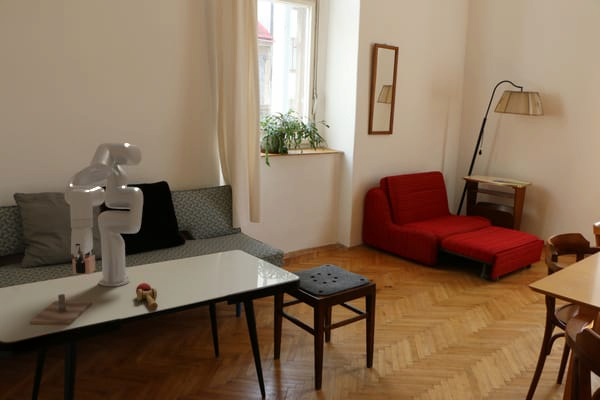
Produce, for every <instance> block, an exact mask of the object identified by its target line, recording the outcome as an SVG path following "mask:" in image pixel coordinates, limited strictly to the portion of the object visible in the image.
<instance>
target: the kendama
mask: <svg viewBox="0 0 600 400" xmlns="http://www.w3.org/2000/svg"><path fill="white" fill-rule="evenodd" d="M135 293H136V299H137V301H142V300H143V299H146V302H147V303H148V306H149V308H150V310H151V311H153V310H154V311H155V310H157V309H158V307H159V305H158V303H157V302H156V300H157V297H158V291H157V288H156V287H152V286H151V285H150V284H149V283H146V282H142V283H140V284H139V285H137V286H136V288H135Z"/></svg>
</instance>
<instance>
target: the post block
mask: <svg viewBox="0 0 600 400" xmlns="http://www.w3.org/2000/svg"><path fill="white" fill-rule="evenodd" d="M57 296H58V297H57V298H58V300H55V301H53V302H52V303H51V304H49V305H48V306H46V308H44V309H43V310H42V311H40V312H39V313H38V314H36V315H35V316H34V317H33V318H32V319H30V320H29V324H30V325H31V324H32V325H68V326H70V325H71V324H73V323H74V322H75V320H76V319H78V318H79V317H80V316H81V315H83V313H84V312H85V311H86V310H87V309H89V307H90V306H92V304H93V302H92V300H89V301H86V300H85V301H84V300H83V301H82V300H80V301H79V300H66V294H63V293H61V294H58V295H57Z"/></svg>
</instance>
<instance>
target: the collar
mask: <svg viewBox="0 0 600 400" xmlns="http://www.w3.org/2000/svg"><path fill="white" fill-rule="evenodd" d="M79 257H81V259H82V256H79ZM84 263H85V273H84V274H83V275H91V274H92V273H93V272H94V271H95V270H96V255H95V254H92V255H85V257H84ZM72 274H73V275H82V274H81V273H76V263H75V258H74V257H73V258H72Z"/></svg>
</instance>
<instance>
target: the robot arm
mask: <svg viewBox="0 0 600 400" xmlns="http://www.w3.org/2000/svg"><path fill="white" fill-rule="evenodd" d="M142 157H143V155H142V151H141V148H140V147H139V146H137V145H134V144H130V143H126V142H103V143H101V144H98V146H97V148H96V149H95V153H94V155H93V157H92V159H91V161H90V164H89V165H88V166H86V167H84V168H82V169H81V170H79V171H77V172H76V173H75V174H73V175H72V176H71V177H70V180H69V181H68V183H67V186H66V188H65V191H64V201H65V202H66V203H67V204H68V205H69V207H70V209H69V210H70V211H69V212H70V228H71V233H70V234H71V238H70V242H71V243H70V252H71V255H72V256H73V259H74V258H75V263H76V273H81V274H80V275H85V274H84V273H85V263H84V257H85V255H93V253H92V250H93V248H94V237H93V236H94V235H93V227H94V212H93V209H94V208H93V207H99V206H101V205H103V204H105V206H106V207H107V208H109V209H119V210H105V211H103V212H101V213H100V214H99V215H98V218H97V225H98V229H99V234H100V243H101V267H102V278H100V279H99V280H98V283H99V285H100V286H102V287H103V286H104V287H120V286H124V285H126V284H128V283H129V282H130V280H131V279H130V277H129V276H128V275H126V273H127V272H126V271H127V269H126V249H125V248H126V243H125V240H124V238H123V237H122V235H121V234H137V233H138V232H139V231H140V229H141V225H142V218H143V206H144V194H143V191H142V190H141V188H139V187H137V186H136V187H135V186H128V180H129V179H128V175H127V173H126V172H125V170H124V169H123V168H122V167H121V166H138V165H139V164H140V163H141V161H142V159H143V158H142ZM105 180H106V186H105V189H104V188H103V187H101V186H98V185H91V184H95V183H98V182H102V181H105ZM120 209H122V210H120ZM123 209H124V210H123ZM125 209H128V210H129V211H128V210H125ZM79 256H82V259H81V257H79Z"/></svg>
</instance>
